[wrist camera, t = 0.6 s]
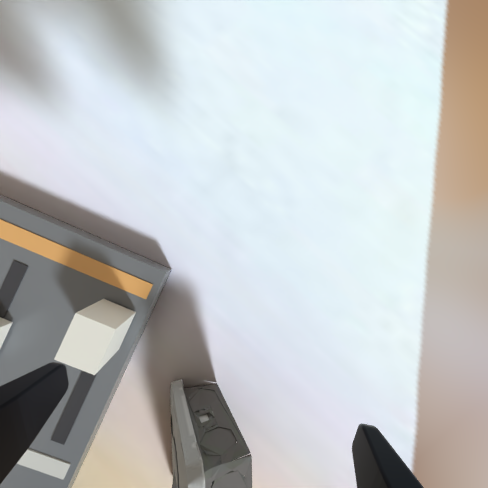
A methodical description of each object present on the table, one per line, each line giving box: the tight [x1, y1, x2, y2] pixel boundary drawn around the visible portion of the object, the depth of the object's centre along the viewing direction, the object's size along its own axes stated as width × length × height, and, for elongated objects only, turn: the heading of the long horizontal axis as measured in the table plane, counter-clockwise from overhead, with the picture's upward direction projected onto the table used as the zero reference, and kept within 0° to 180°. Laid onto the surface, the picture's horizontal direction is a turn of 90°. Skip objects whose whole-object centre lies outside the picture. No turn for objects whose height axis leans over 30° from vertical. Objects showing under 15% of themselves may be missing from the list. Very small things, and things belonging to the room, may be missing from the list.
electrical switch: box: [170, 379, 252, 488], centre depth 17 cm, size 9×5×9 cm, turn 0°
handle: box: [54, 299, 136, 375], centre depth 17 cm, size 3×2×4 cm
